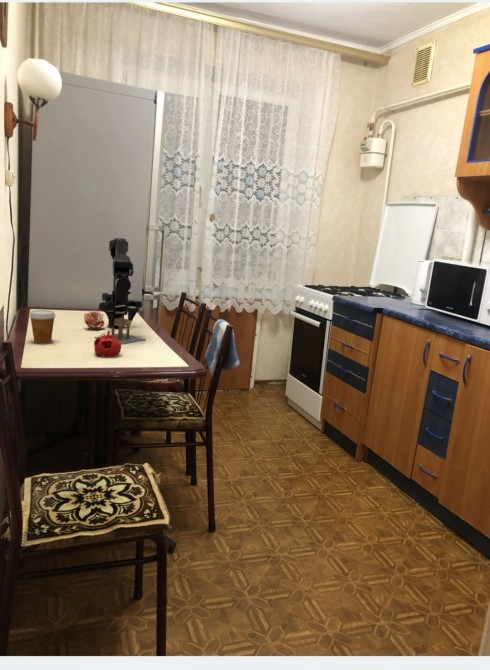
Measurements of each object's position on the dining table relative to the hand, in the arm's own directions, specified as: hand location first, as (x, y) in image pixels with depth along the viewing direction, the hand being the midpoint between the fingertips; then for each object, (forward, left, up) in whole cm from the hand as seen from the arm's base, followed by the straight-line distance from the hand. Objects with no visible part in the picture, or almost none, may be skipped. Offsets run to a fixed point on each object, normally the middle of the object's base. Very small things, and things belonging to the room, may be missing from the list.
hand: (120, 325), depth 215 cm
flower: (-3, -22, -6) cm, 23 cm away
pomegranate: (+20, +17, -6) cm, 27 cm away
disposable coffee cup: (+28, -13, -6) cm, 31 cm away
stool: (0, 0, -6) cm, 6 cm away
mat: (0, 0, -6) cm, 6 cm away
